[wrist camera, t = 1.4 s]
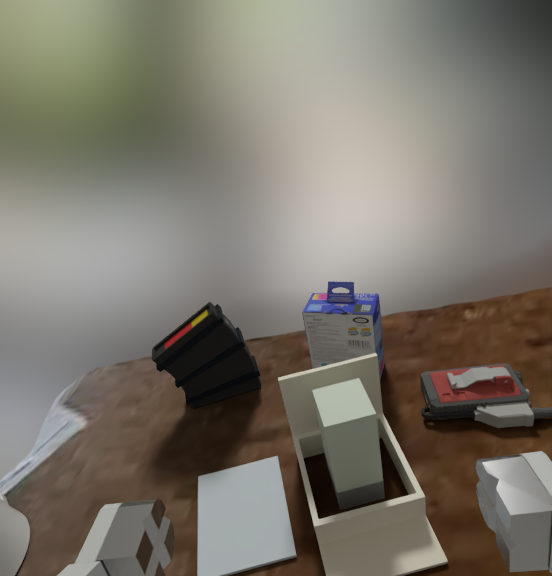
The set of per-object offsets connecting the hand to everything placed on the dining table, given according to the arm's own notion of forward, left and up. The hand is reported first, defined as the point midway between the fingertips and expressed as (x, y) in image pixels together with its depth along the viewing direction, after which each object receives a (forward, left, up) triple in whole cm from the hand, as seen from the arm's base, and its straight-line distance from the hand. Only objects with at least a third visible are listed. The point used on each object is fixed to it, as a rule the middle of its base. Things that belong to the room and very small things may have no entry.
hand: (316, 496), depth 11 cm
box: (+5, +23, -34) cm, 41 cm away
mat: (-8, +23, -34) cm, 42 cm away
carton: (+5, +21, -34) cm, 40 cm away
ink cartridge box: (+10, +41, -34) cm, 54 cm away
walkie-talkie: (+26, +29, -35) cm, 52 cm away
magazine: (-10, +43, -34) cm, 56 cm away
